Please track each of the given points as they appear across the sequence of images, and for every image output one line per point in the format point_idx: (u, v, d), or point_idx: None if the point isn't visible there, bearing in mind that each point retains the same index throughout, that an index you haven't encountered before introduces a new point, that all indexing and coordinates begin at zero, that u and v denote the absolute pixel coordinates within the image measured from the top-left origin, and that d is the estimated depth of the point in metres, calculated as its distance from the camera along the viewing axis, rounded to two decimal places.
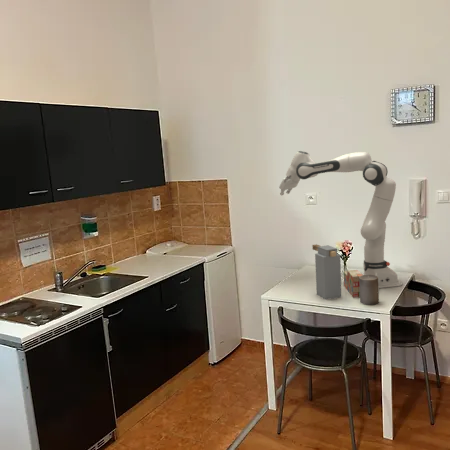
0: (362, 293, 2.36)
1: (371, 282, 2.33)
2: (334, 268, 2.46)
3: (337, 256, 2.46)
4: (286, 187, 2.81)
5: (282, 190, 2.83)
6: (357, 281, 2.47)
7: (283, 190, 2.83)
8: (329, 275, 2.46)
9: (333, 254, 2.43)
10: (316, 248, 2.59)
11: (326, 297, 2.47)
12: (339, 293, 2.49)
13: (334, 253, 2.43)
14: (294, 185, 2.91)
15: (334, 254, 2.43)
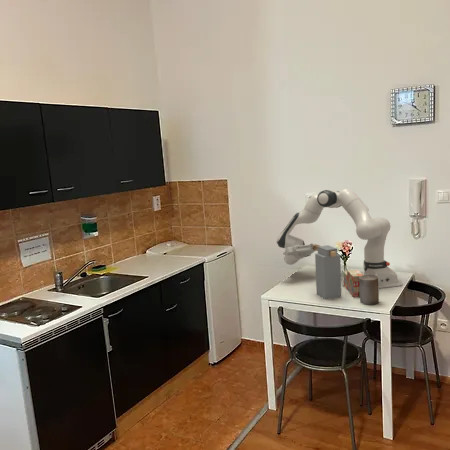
0: (362, 293, 2.36)
1: (371, 282, 2.33)
2: (334, 268, 2.46)
3: (337, 256, 2.46)
4: None
5: (293, 248, 2.77)
6: (357, 281, 2.47)
7: (293, 247, 2.77)
8: (329, 275, 2.46)
9: (333, 254, 2.43)
10: (316, 248, 2.59)
11: (326, 297, 2.47)
12: (339, 293, 2.49)
13: (334, 253, 2.43)
14: None
15: (334, 254, 2.43)
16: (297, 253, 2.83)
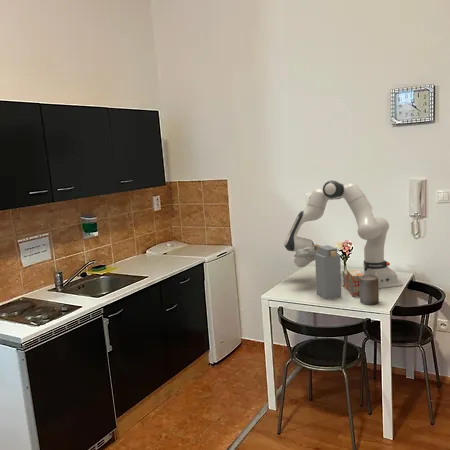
0: (362, 293, 2.36)
1: (371, 282, 2.33)
2: (334, 268, 2.46)
3: (337, 256, 2.46)
4: None
5: (309, 250, 2.62)
6: (357, 280, 2.48)
7: (308, 249, 2.63)
8: (329, 275, 2.46)
9: (333, 254, 2.43)
10: (316, 248, 2.59)
11: (326, 297, 2.47)
12: (339, 293, 2.49)
13: (334, 253, 2.43)
14: None
15: (334, 254, 2.43)
16: (308, 255, 2.68)
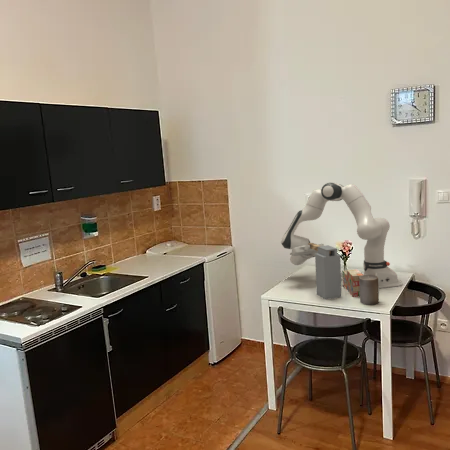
0: (362, 293, 2.36)
1: (371, 282, 2.33)
2: (334, 268, 2.46)
3: (337, 256, 2.46)
4: None
5: (304, 248, 2.67)
6: (357, 280, 2.48)
7: (304, 247, 2.68)
8: (329, 275, 2.46)
9: None
10: (311, 246, 2.64)
11: (326, 297, 2.47)
12: (339, 293, 2.49)
13: (329, 251, 2.48)
14: None
15: (329, 252, 2.48)
16: (304, 253, 2.73)
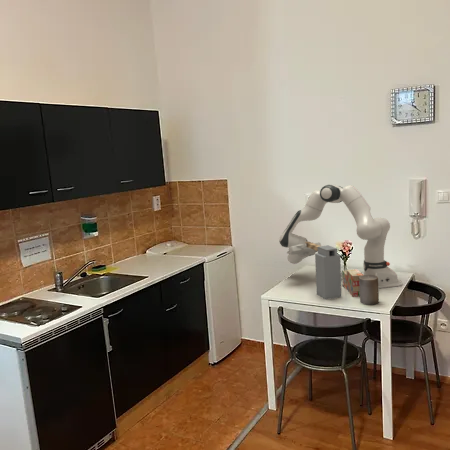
0: (362, 293, 2.36)
1: (371, 282, 2.33)
2: (334, 268, 2.46)
3: (337, 256, 2.46)
4: None
5: (301, 246, 2.72)
6: (357, 280, 2.48)
7: (301, 246, 2.72)
8: (329, 275, 2.46)
9: None
10: (308, 245, 2.68)
11: (326, 297, 2.47)
12: (339, 293, 2.49)
13: None
14: None
15: None
16: (301, 252, 2.78)
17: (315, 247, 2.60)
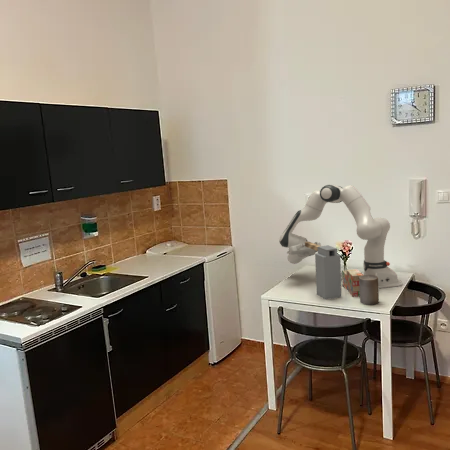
0: (362, 293, 2.36)
1: (371, 282, 2.33)
2: (334, 268, 2.46)
3: (337, 256, 2.46)
4: None
5: (297, 247, 2.71)
6: (357, 280, 2.48)
7: (297, 246, 2.71)
8: (329, 275, 2.46)
9: None
10: (308, 245, 2.68)
11: (326, 297, 2.47)
12: (339, 293, 2.49)
13: None
14: None
15: None
16: (301, 252, 2.78)
17: (315, 247, 2.60)
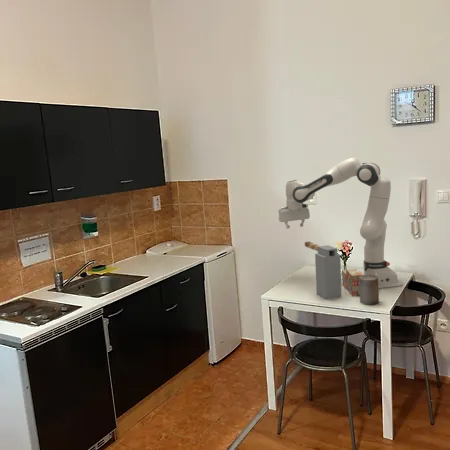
0: (362, 293, 2.36)
1: (371, 282, 2.33)
2: (334, 268, 2.46)
3: (337, 256, 2.46)
4: (285, 218, 2.82)
5: (285, 223, 2.84)
6: (356, 280, 2.49)
7: (285, 222, 2.84)
8: (329, 275, 2.46)
9: None
10: (308, 245, 2.68)
11: (326, 297, 2.47)
12: (339, 293, 2.49)
13: None
14: (303, 216, 2.85)
15: None
16: None
17: (315, 247, 2.60)
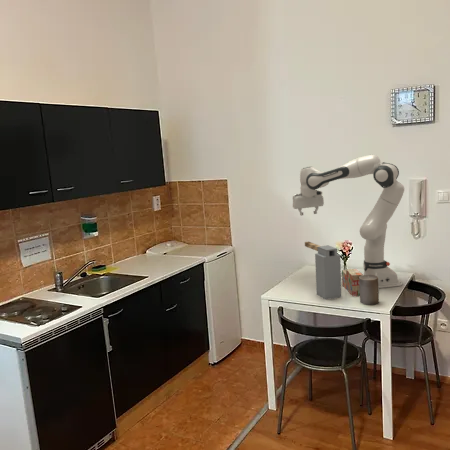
0: (362, 293, 2.36)
1: (371, 282, 2.33)
2: (334, 268, 2.46)
3: (337, 256, 2.46)
4: (299, 205, 2.80)
5: (299, 210, 2.82)
6: (356, 280, 2.49)
7: (299, 209, 2.82)
8: (329, 275, 2.46)
9: None
10: (308, 245, 2.68)
11: (326, 297, 2.47)
12: (339, 293, 2.49)
13: None
14: (317, 203, 2.83)
15: None
16: None
17: (315, 247, 2.60)
